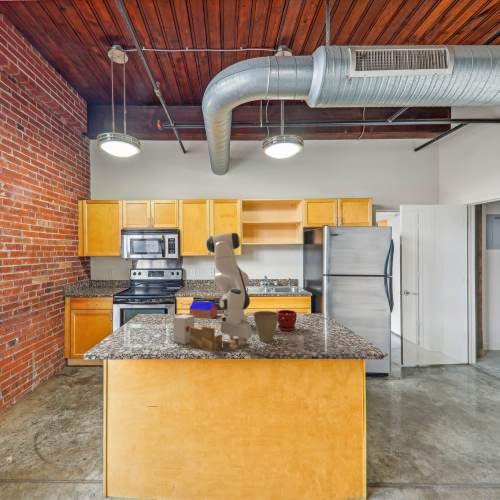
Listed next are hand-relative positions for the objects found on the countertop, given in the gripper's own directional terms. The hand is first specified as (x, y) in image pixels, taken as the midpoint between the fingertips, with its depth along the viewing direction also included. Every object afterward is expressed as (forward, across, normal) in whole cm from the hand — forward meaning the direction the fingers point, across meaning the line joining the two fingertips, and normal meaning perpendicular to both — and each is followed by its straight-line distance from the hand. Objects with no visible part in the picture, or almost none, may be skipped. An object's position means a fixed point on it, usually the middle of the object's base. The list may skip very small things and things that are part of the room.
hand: (235, 343), depth 163 cm
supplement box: (+2, +31, +11) cm, 33 cm away
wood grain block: (+2, +9, +8) cm, 12 cm away
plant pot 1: (+2, -7, -20) cm, 21 cm away
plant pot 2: (+2, -5, -48) cm, 48 cm away
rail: (+2, 0, 0) cm, 2 cm away
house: (+2, +72, -44) cm, 84 cm away
